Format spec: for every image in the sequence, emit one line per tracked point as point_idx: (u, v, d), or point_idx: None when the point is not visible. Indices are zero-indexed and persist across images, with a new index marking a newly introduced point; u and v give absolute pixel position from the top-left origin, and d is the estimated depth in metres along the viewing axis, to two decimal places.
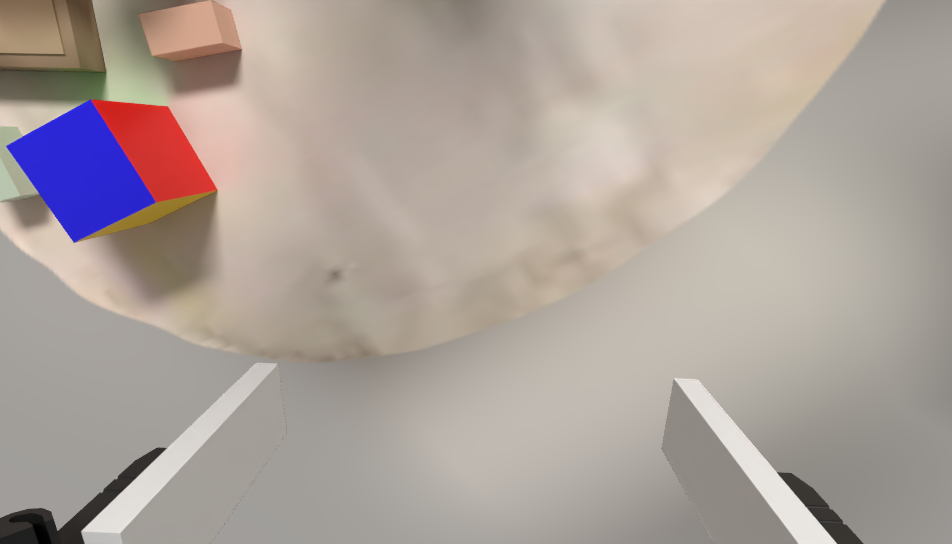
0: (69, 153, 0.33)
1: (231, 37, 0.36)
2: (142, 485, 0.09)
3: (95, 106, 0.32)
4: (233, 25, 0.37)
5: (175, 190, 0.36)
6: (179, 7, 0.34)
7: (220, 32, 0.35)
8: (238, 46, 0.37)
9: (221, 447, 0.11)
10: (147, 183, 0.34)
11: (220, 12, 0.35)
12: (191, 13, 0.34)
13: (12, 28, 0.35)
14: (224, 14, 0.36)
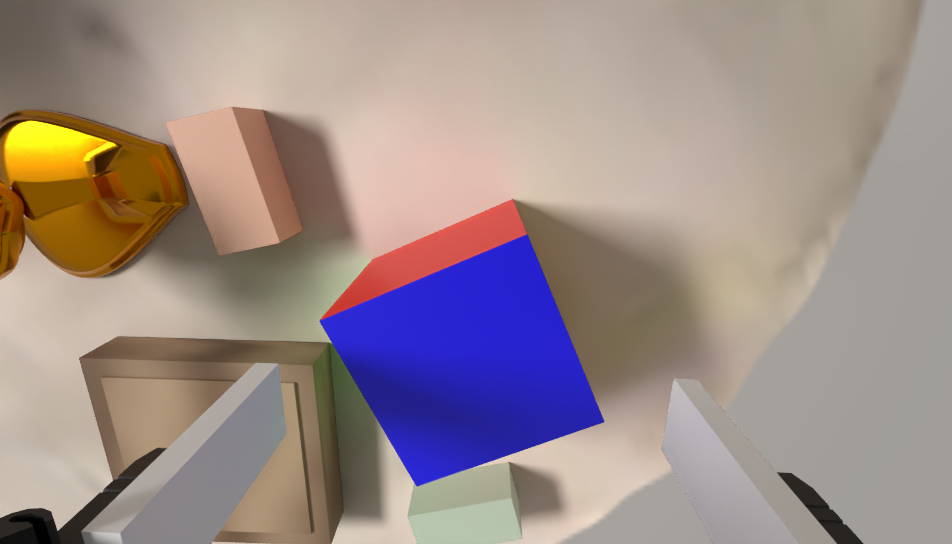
0: (425, 384, 0.17)
1: None
2: (142, 485, 0.09)
3: (332, 315, 0.16)
4: None
5: (505, 225, 0.17)
6: (191, 182, 0.20)
7: (216, 110, 0.19)
8: None
9: (221, 447, 0.11)
10: (484, 249, 0.15)
11: None
12: (196, 161, 0.19)
13: None
14: None
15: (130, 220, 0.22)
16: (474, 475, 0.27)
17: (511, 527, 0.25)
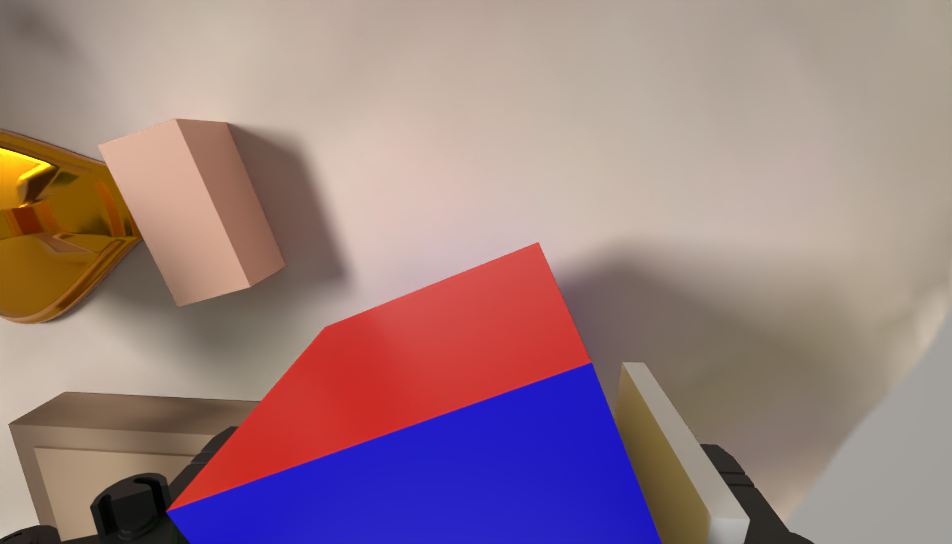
0: None
1: None
2: None
3: (191, 502, 0.08)
4: None
5: (535, 311, 0.09)
6: (136, 218, 0.15)
7: (157, 125, 0.15)
8: None
9: None
10: (497, 385, 0.07)
11: None
12: (138, 191, 0.15)
13: None
14: None
15: (72, 257, 0.18)
16: None
17: None
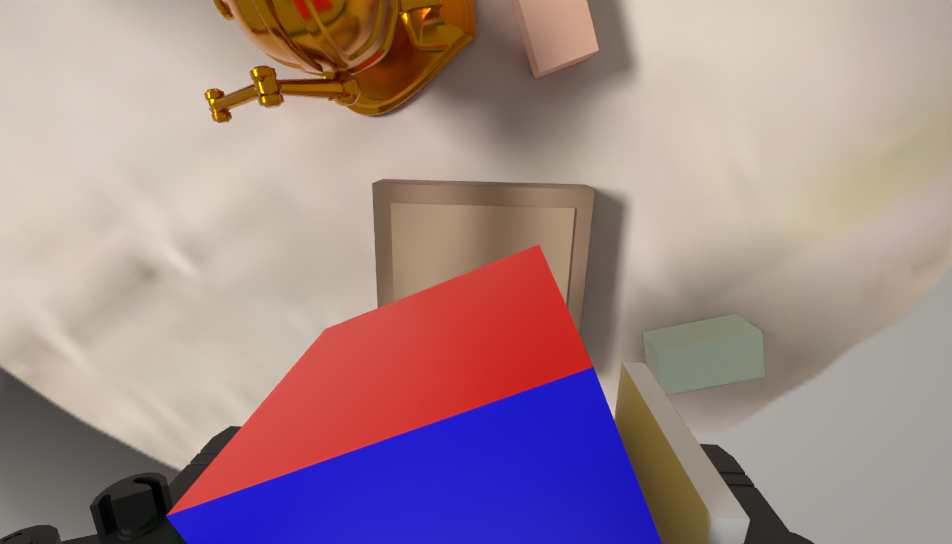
0: None
1: None
2: None
3: (191, 506, 0.08)
4: None
5: (536, 314, 0.09)
6: None
7: None
8: None
9: None
10: (499, 389, 0.07)
11: None
12: None
13: None
14: None
15: (428, 49, 0.23)
16: (706, 323, 0.28)
17: (756, 364, 0.26)
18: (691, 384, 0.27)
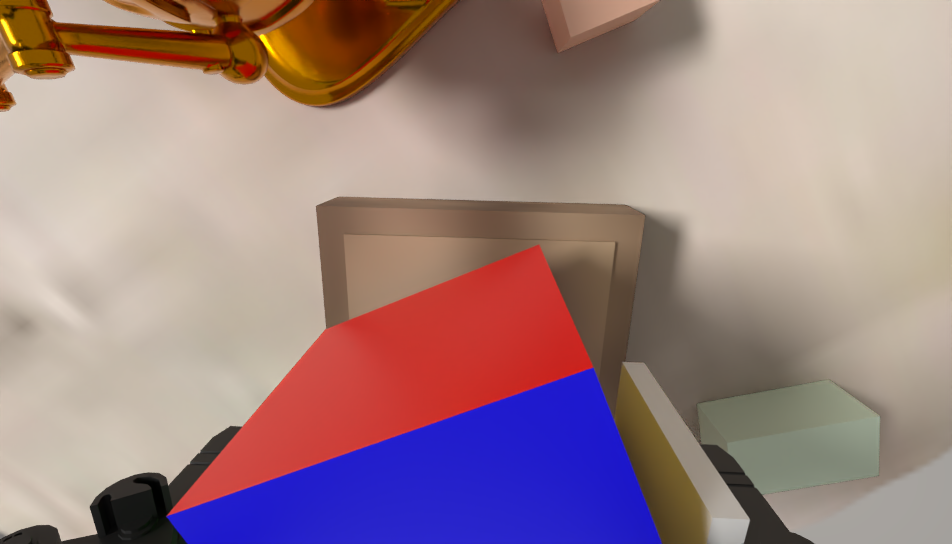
0: None
1: None
2: None
3: (191, 506, 0.08)
4: None
5: (536, 314, 0.09)
6: None
7: None
8: None
9: None
10: (499, 389, 0.07)
11: None
12: None
13: None
14: None
15: (398, 6, 0.16)
16: (789, 395, 0.20)
17: (868, 459, 0.18)
18: (772, 484, 0.19)
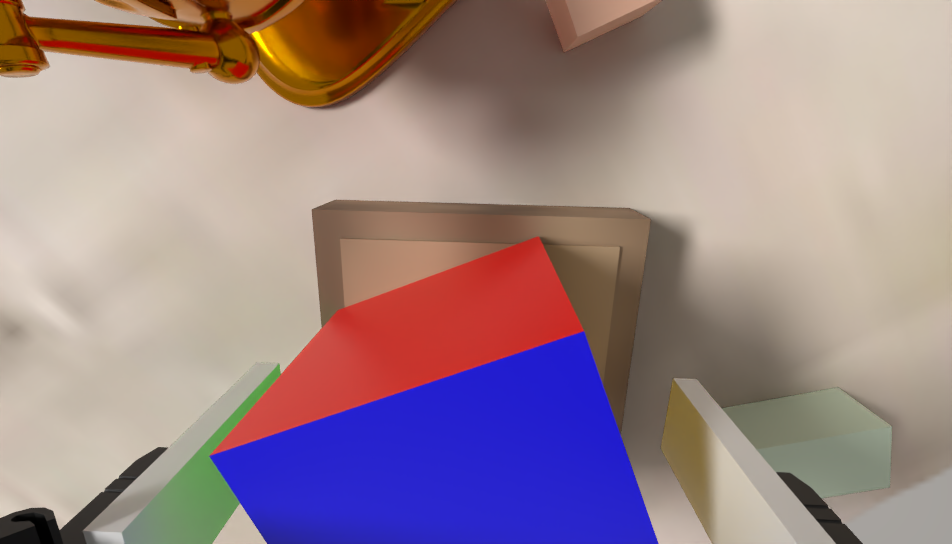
0: None
1: None
2: (143, 484, 0.09)
3: (231, 448, 0.09)
4: None
5: (536, 293, 0.11)
6: None
7: None
8: None
9: None
10: (503, 350, 0.09)
11: None
12: None
13: None
14: None
15: (396, 4, 0.15)
16: (797, 404, 0.20)
17: (879, 470, 0.18)
18: None
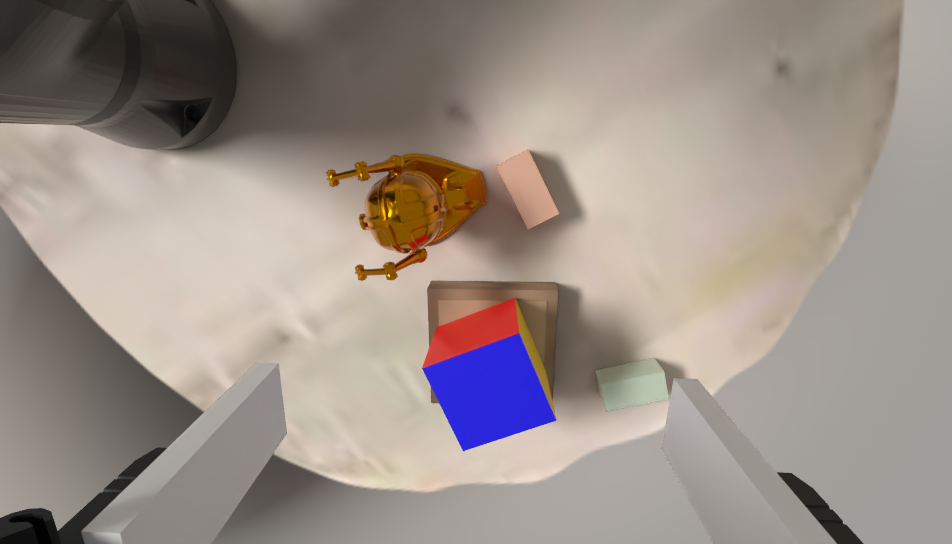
0: (469, 399, 0.35)
1: (520, 153, 0.38)
2: (142, 485, 0.09)
3: (428, 366, 0.34)
4: (509, 159, 0.40)
5: (510, 322, 0.36)
6: (511, 194, 0.38)
7: (520, 154, 0.37)
8: (525, 150, 0.39)
9: (221, 447, 0.11)
10: (499, 338, 0.33)
11: (503, 163, 0.38)
12: (512, 182, 0.38)
13: None
14: (503, 162, 0.39)
15: (459, 211, 0.40)
16: (634, 365, 0.44)
17: (662, 391, 0.42)
18: (623, 404, 0.43)
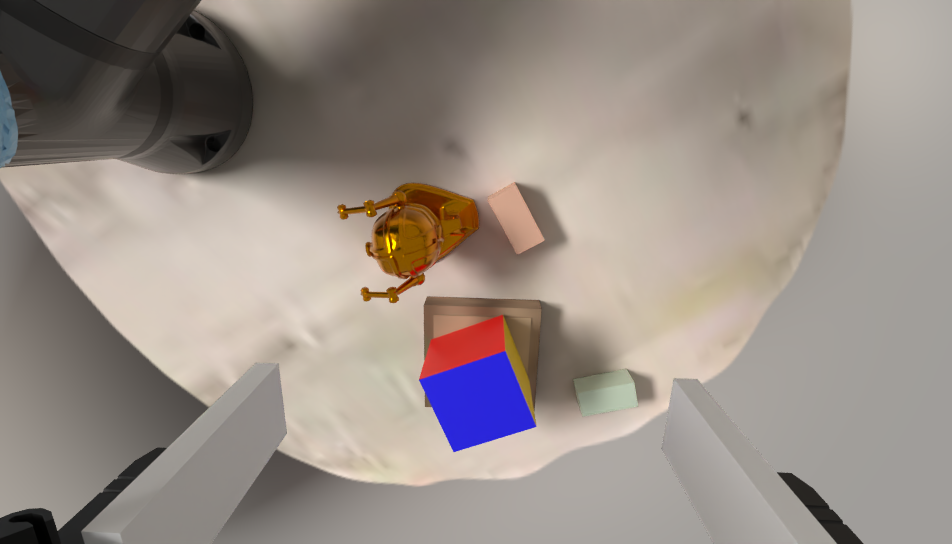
0: (460, 407, 0.39)
1: (508, 186, 0.43)
2: (142, 485, 0.09)
3: (424, 377, 0.39)
4: (499, 190, 0.44)
5: (497, 339, 0.40)
6: (501, 223, 0.42)
7: (508, 188, 0.41)
8: (513, 183, 0.43)
9: (221, 447, 0.11)
10: (488, 355, 0.38)
11: (493, 196, 0.42)
12: (502, 213, 0.42)
13: None
14: (493, 195, 0.43)
15: (454, 236, 0.45)
16: (608, 375, 0.49)
17: (632, 399, 0.47)
18: (597, 410, 0.48)
